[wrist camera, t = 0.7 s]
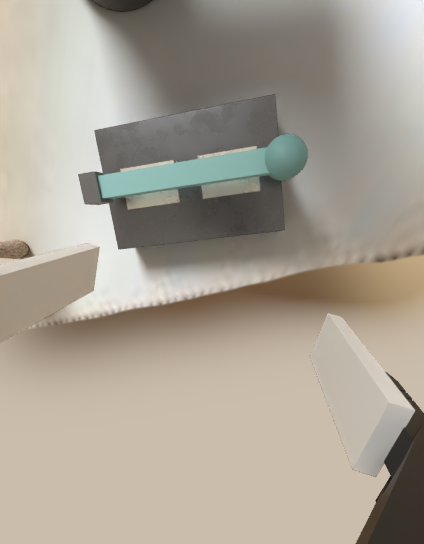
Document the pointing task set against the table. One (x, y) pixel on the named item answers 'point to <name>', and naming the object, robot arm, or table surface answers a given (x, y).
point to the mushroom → (13, 249)
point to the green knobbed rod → (199, 171)
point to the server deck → (199, 199)
